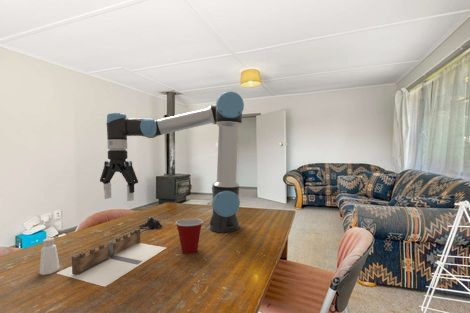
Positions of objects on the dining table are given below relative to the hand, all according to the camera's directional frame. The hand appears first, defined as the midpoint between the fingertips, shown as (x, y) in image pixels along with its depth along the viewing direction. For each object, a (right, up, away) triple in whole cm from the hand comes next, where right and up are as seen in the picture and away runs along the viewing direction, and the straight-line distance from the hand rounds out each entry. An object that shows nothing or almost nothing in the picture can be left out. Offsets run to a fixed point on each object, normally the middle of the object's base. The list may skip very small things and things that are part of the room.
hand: (118, 199), depth 98 cm
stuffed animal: (+6, -19, +19) cm, 28 cm away
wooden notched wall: (+6, -19, -7) cm, 20 cm away
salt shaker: (-12, -20, -22) cm, 32 cm away
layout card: (+7, -19, -15) cm, 25 cm away
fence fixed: (+1, -19, -20) cm, 27 cm away
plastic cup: (+32, -19, -8) cm, 38 cm away
